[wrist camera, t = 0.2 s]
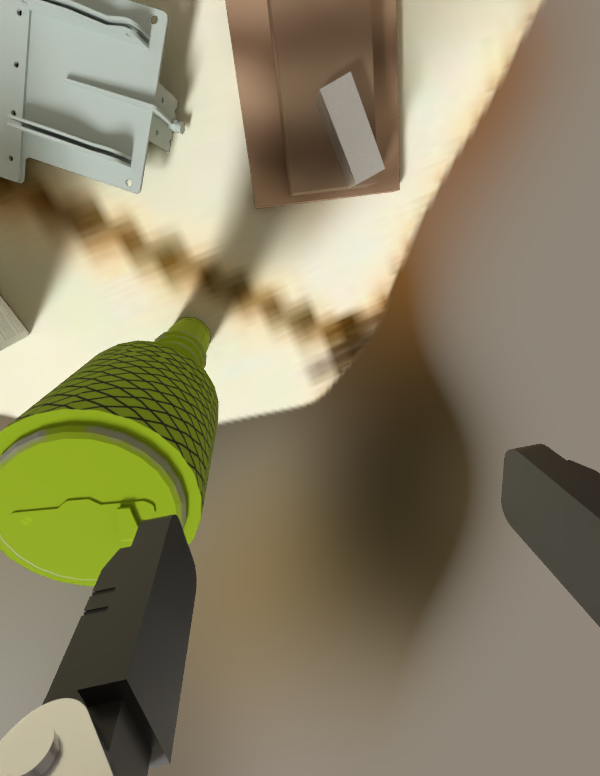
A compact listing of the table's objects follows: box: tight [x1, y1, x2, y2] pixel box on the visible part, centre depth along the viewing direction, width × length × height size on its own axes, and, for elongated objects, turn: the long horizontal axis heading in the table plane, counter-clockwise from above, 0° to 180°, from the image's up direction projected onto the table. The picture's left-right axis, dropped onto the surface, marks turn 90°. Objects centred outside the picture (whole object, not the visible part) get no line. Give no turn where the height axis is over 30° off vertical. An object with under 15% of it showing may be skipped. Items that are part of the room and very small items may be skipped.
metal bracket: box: [0, 0, 185, 194], centre depth 28 cm, size 14×6×15 cm
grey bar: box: [315, 72, 385, 188], centre depth 24 cm, size 19×4×2 cm, turn 7°
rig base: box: [225, 0, 400, 209], centre depth 27 cm, size 20×12×4 cm, turn 7°
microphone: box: [0, 317, 218, 586], centre depth 24 cm, size 8×8×25 cm
